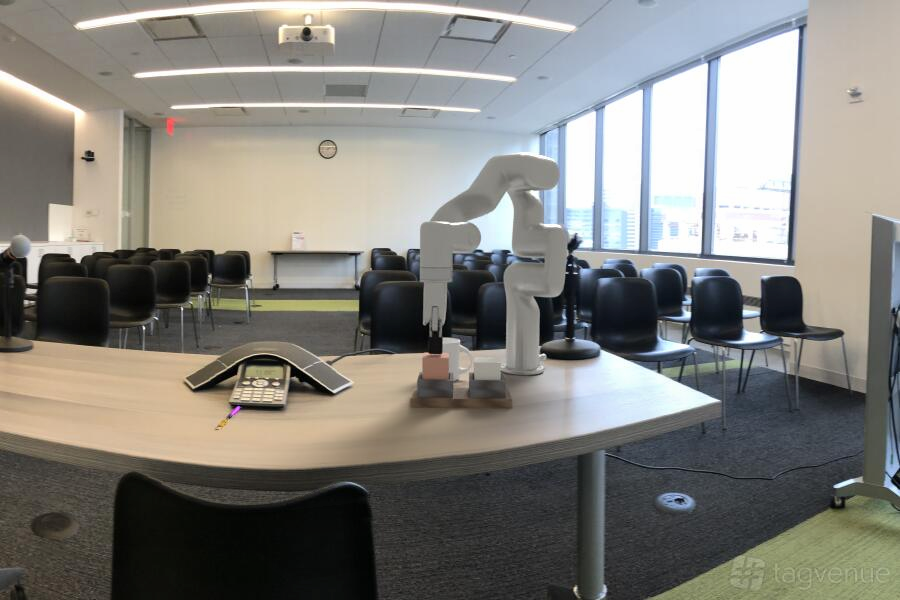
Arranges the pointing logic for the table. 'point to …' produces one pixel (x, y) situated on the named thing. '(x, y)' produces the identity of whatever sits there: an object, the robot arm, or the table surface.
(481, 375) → the cream key
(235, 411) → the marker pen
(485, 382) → the key panel
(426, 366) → the terracotta key
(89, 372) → the table surface
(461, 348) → the mug
